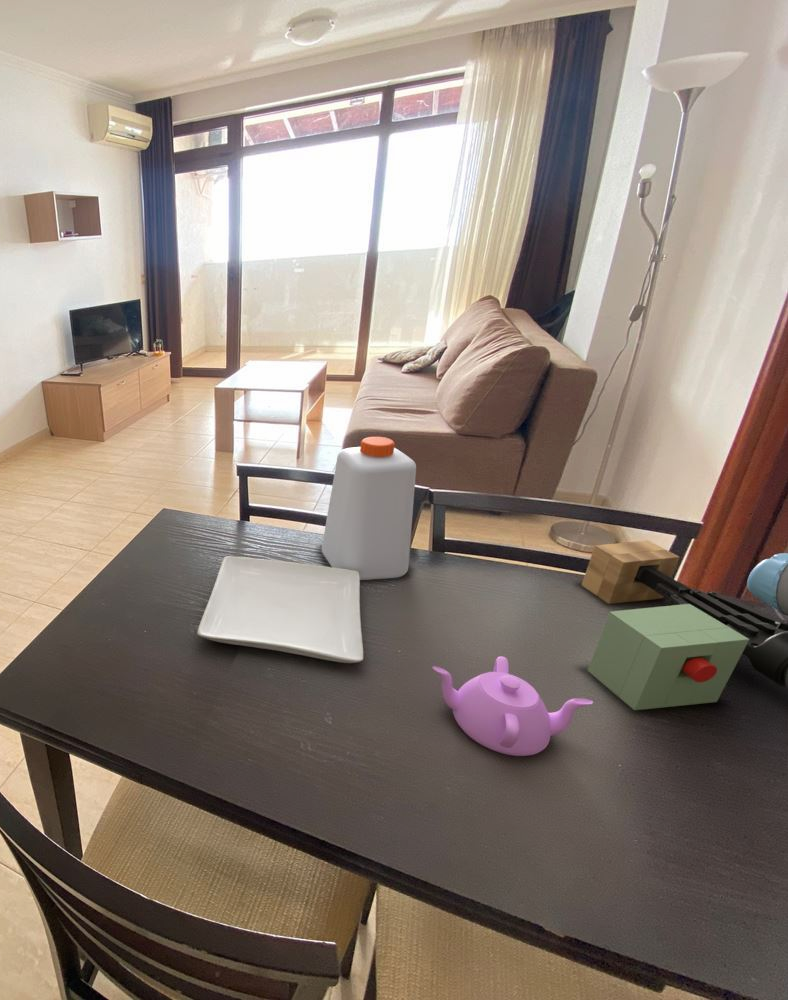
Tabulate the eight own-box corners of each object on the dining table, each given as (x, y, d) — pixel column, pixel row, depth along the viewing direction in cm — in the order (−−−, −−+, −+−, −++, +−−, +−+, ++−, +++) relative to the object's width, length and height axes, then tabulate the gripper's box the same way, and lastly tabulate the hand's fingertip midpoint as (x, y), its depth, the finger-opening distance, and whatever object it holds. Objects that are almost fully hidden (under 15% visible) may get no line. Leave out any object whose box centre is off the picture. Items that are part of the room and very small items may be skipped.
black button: (635, 582, 95) (640, 567, 94) (627, 577, 97) (632, 562, 96) (651, 580, 95) (657, 566, 94) (643, 575, 97) (649, 561, 96)
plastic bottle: (340, 585, 110) (354, 457, 98) (315, 548, 124) (325, 432, 112) (415, 579, 110) (438, 450, 98) (381, 543, 123) (398, 426, 111)
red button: (690, 683, 73) (698, 666, 71) (678, 675, 74) (686, 658, 73) (712, 681, 73) (721, 664, 71) (700, 673, 74) (708, 656, 73)
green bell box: (632, 713, 77) (661, 648, 72) (586, 673, 84) (609, 611, 79) (715, 705, 77) (749, 639, 72) (661, 666, 84) (689, 603, 79)
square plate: (224, 568, 119) (224, 553, 117) (358, 585, 110) (360, 568, 108) (196, 648, 96) (195, 631, 95) (361, 678, 87) (364, 659, 85)
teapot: (575, 749, 72) (595, 701, 69) (489, 777, 70) (504, 728, 66) (499, 687, 83) (512, 642, 79) (422, 709, 80) (431, 663, 77)
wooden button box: (607, 606, 97) (623, 562, 93) (580, 588, 103) (594, 545, 99) (661, 601, 98) (680, 556, 94) (631, 583, 103) (648, 540, 99)
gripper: (750, 694, 75) (604, 596, 96) (842, 685, 75) (675, 588, 96) (774, 652, 72) (617, 560, 93) (869, 642, 72) (690, 553, 93)
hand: (647, 574), depth 95 cm, fingers closed
